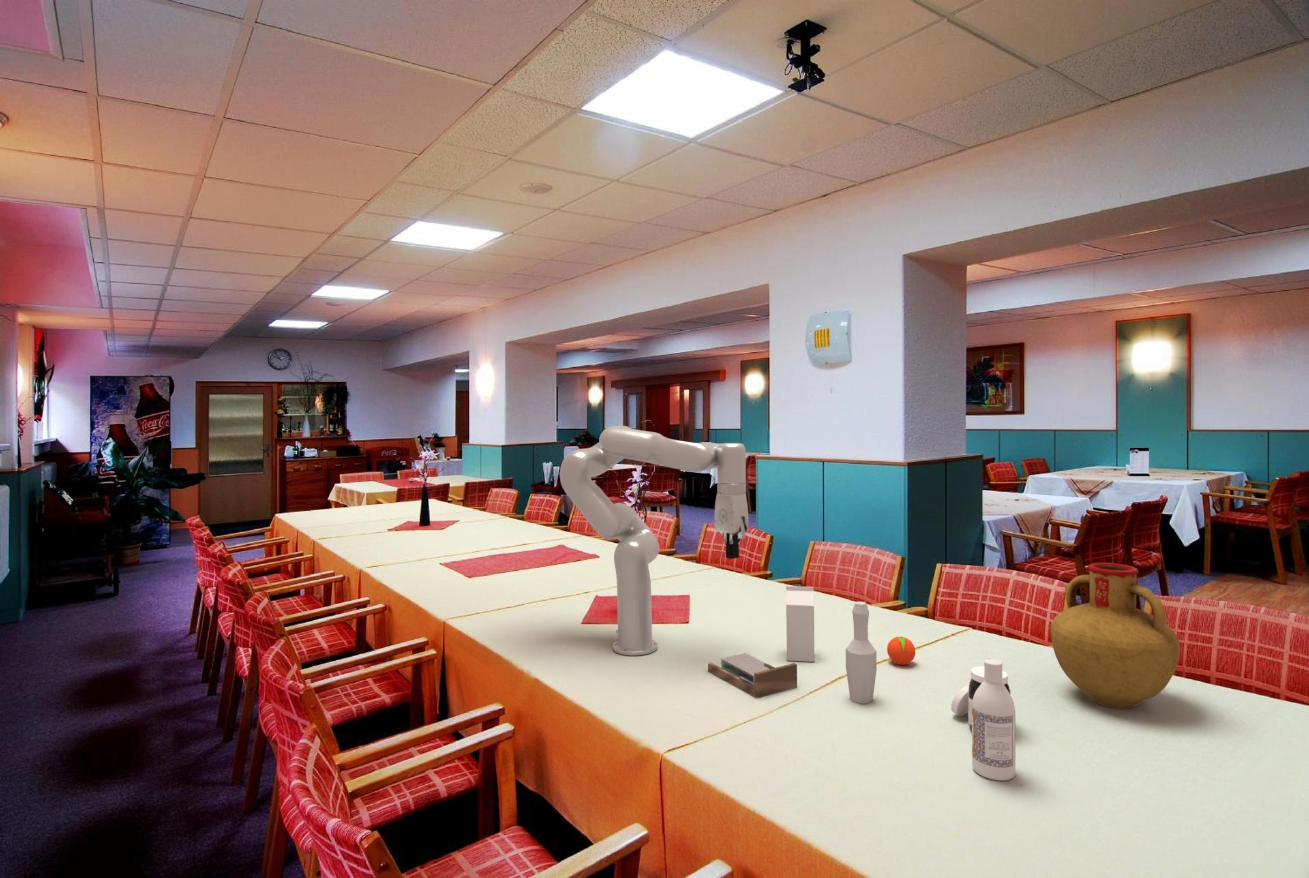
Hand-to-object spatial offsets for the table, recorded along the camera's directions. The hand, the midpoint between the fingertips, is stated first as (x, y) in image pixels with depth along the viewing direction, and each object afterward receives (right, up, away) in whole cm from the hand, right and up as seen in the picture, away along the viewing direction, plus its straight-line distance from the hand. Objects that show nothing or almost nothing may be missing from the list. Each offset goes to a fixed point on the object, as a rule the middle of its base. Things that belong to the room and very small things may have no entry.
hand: (732, 557), depth 183 cm
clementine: (+43, -27, -6) cm, 51 cm away
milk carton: (+18, -27, 0) cm, 32 cm away
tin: (+1, -28, -10) cm, 29 cm away
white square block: (+5, -28, -17) cm, 33 cm away
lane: (+3, -27, -14) cm, 31 cm away
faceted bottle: (+26, -28, -28) cm, 47 cm away
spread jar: (+47, -28, -41) cm, 68 cm away
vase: (+81, -27, -31) cm, 91 cm away
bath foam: (+40, -28, -60) cm, 77 cm away
